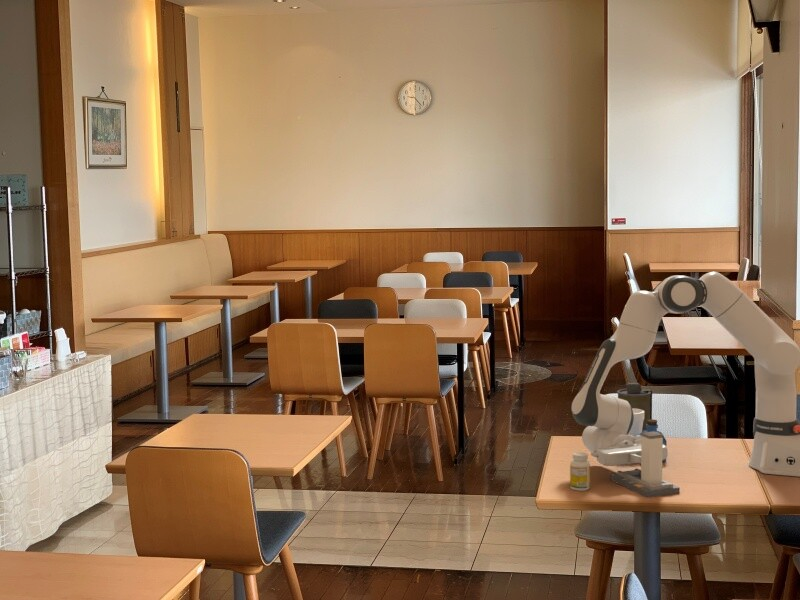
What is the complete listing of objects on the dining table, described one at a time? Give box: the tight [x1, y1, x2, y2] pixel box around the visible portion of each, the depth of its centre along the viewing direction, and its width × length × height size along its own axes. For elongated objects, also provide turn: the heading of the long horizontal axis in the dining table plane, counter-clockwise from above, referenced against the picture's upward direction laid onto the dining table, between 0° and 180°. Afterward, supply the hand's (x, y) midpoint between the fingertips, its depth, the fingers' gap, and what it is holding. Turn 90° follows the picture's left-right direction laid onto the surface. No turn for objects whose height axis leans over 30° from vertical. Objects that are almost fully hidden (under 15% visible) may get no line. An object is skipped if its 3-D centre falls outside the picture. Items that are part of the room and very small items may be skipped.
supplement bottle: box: [569, 451, 591, 492], centre depth 282 cm, size 5×5×10 cm
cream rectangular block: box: [640, 431, 664, 485], centre depth 279 cm, size 4×4×14 cm
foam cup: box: [628, 408, 644, 435], centre depth 319 cm, size 10×9×13 cm
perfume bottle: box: [640, 418, 668, 462], centre depth 310 cm, size 6×6×12 cm
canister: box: [616, 382, 653, 431], centre depth 327 cm, size 11×10×20 cm
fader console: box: [610, 468, 681, 498], centre depth 283 cm, size 18×10×2 cm, turn 20°
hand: (647, 460), depth 281 cm, fingers closed, pressing on cream rectangular block
